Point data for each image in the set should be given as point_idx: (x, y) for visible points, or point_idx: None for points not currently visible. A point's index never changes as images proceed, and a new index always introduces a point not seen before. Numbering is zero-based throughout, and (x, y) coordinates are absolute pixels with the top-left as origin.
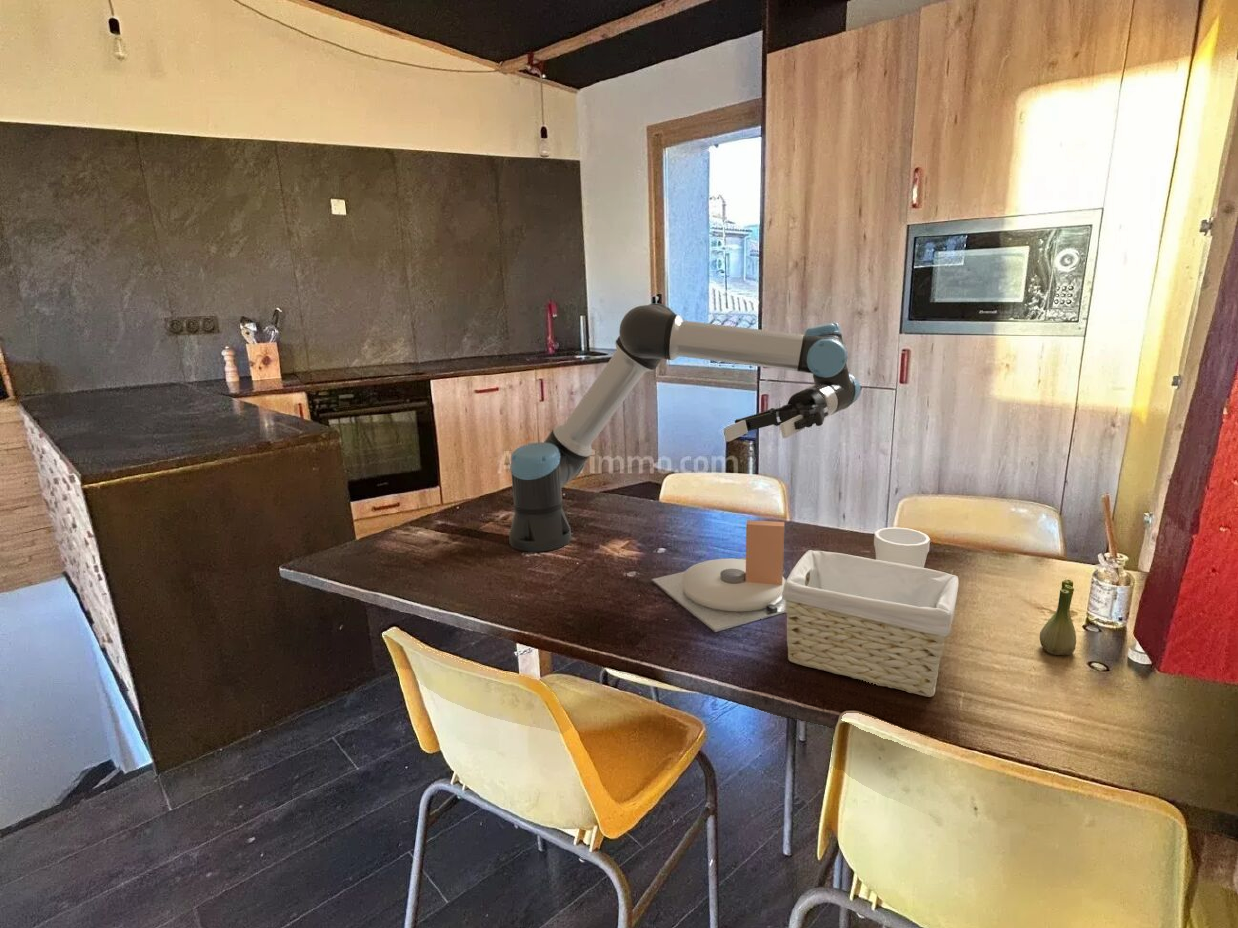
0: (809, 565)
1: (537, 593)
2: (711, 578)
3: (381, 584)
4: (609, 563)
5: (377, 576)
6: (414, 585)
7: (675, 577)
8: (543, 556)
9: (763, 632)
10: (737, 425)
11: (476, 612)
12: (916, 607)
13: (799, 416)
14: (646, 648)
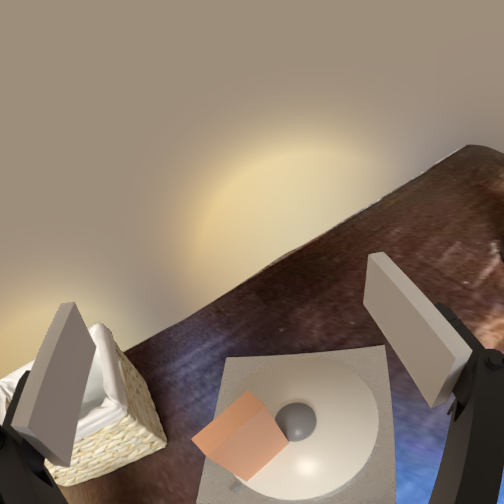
0: (105, 381)
1: (396, 243)
2: (314, 396)
3: (441, 170)
4: (457, 313)
5: (455, 168)
6: (436, 182)
7: (376, 374)
8: (489, 255)
9: (194, 399)
10: (409, 312)
11: (374, 209)
12: (13, 371)
13: (20, 405)
14: (245, 298)
